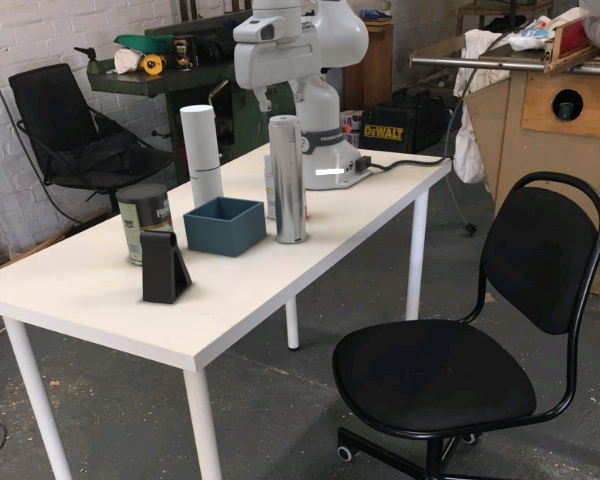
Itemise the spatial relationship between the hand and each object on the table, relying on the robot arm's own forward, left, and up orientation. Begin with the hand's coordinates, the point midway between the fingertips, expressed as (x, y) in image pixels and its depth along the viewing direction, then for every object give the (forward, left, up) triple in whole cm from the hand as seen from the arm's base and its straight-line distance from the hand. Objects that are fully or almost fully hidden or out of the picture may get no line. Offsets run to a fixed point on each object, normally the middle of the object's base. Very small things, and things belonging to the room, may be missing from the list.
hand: (283, 106), depth 126 cm
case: (+10, -10, -27) cm, 30 cm away
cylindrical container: (+3, -24, -27) cm, 36 cm away
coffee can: (+25, -17, -27) cm, 41 cm away
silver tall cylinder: (0, 0, -27) cm, 27 cm away
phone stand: (+34, 0, -27) cm, 44 cm away
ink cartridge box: (-9, -10, -27) cm, 30 cm away
